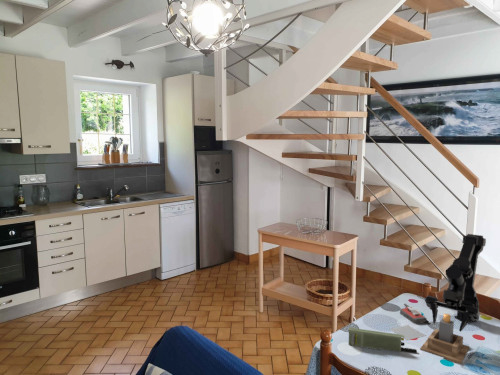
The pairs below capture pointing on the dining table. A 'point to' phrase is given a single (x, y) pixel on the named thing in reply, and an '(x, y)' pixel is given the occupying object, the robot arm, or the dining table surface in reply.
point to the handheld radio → (377, 340)
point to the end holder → (446, 347)
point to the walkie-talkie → (413, 315)
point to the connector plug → (446, 329)
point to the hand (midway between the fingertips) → (446, 327)
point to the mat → (407, 332)
